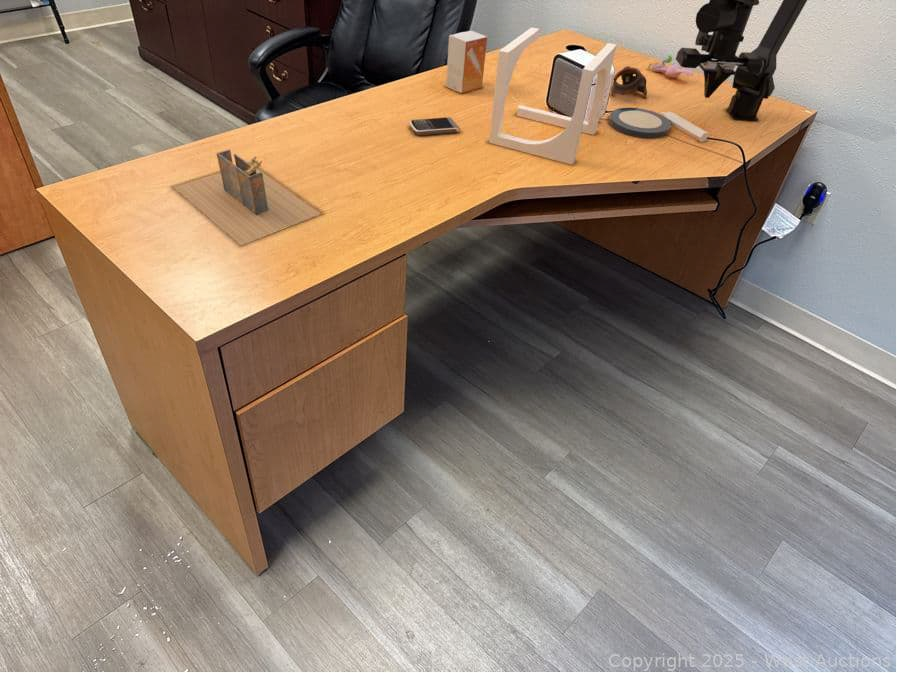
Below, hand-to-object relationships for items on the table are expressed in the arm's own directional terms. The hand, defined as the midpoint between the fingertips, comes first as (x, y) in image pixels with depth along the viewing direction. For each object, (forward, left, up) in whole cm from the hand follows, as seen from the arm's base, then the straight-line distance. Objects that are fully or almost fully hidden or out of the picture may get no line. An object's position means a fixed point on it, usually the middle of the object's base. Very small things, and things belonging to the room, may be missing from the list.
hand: (706, 97), depth 145 cm
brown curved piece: (+13, -20, -8) cm, 25 cm away
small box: (+58, -17, -8) cm, 61 cm away
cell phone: (+65, +11, -8) cm, 67 cm away
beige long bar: (+4, 0, -8) cm, 9 cm away
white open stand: (+39, +11, -8) cm, 42 cm away
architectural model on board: (+99, +48, -8) cm, 111 cm away
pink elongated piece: (-3, -37, -8) cm, 38 cm away
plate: (+14, 0, -8) cm, 16 cm away
